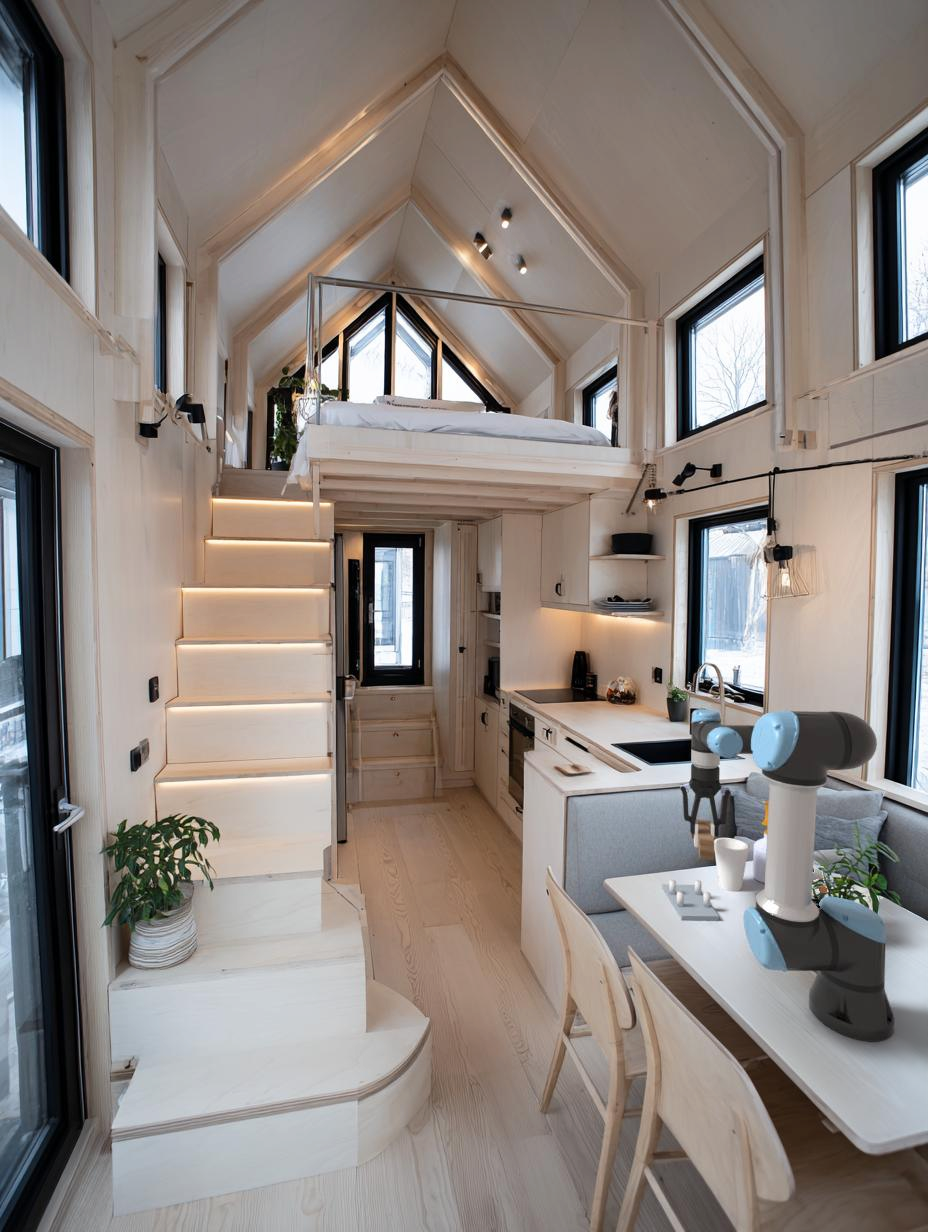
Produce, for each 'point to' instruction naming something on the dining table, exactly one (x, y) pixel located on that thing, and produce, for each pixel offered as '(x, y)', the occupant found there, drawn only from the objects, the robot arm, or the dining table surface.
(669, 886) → the rack
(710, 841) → the wooden toy mallet
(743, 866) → the foam cup
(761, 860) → the soap bottle
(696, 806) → the robot arm
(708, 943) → the dining table surface
